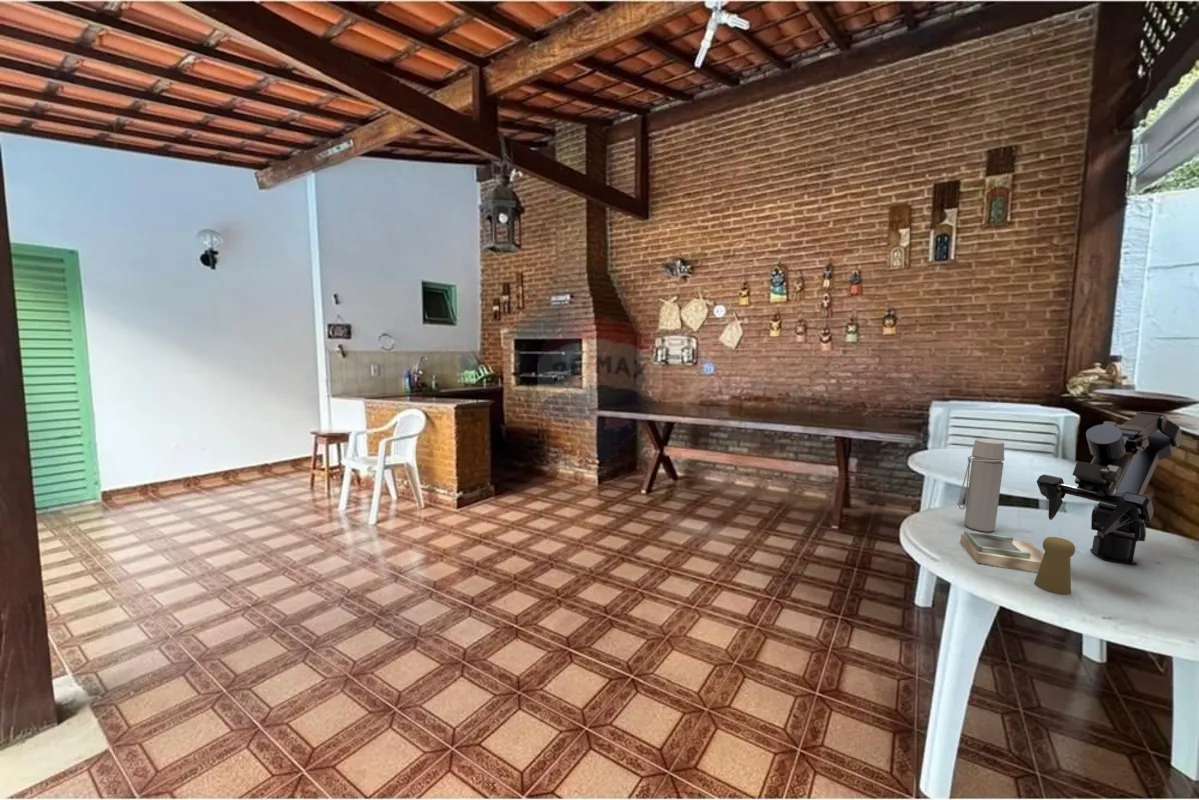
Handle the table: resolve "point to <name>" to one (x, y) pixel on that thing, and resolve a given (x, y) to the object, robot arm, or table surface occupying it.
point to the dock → (1002, 551)
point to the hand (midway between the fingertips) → (1075, 525)
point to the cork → (1055, 566)
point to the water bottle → (983, 484)
